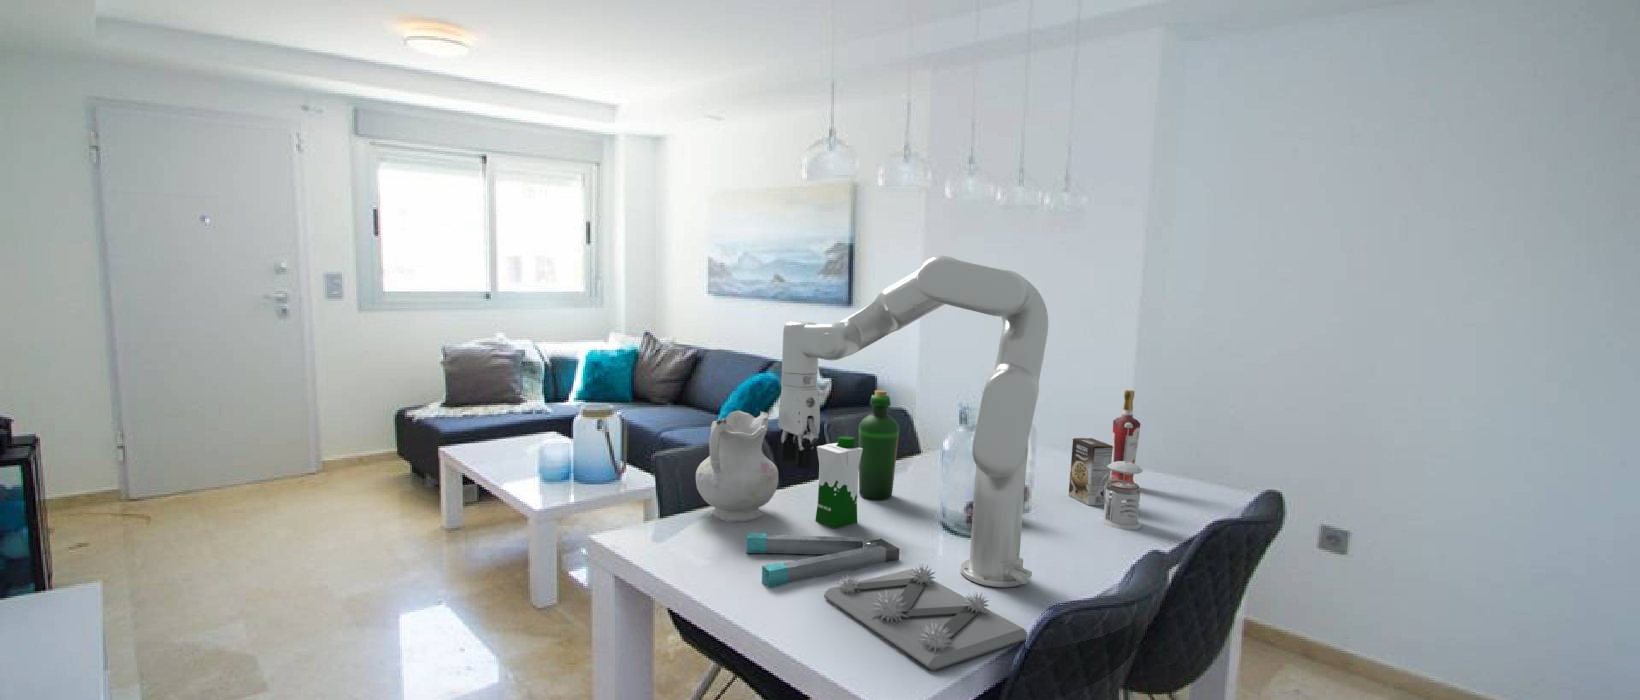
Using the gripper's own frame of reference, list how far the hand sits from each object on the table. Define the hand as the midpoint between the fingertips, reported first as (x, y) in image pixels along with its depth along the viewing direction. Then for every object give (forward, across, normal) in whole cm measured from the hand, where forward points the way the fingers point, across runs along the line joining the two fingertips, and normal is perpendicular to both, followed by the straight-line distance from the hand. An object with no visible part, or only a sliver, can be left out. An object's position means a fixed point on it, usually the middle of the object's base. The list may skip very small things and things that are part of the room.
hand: (796, 463), depth 162 cm
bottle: (+18, +20, -37) cm, 46 cm away
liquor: (+18, -2, -109) cm, 110 cm away
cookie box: (+18, -6, -88) cm, 90 cm away
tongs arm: (+17, -7, 0) cm, 19 cm away
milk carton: (+18, +8, -16) cm, 25 cm away
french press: (+18, -22, -79) cm, 84 cm away
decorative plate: (+18, -40, -2) cm, 44 cm away
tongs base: (+17, -15, 0) cm, 23 cm away
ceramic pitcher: (+18, +22, +3) cm, 29 cm away
